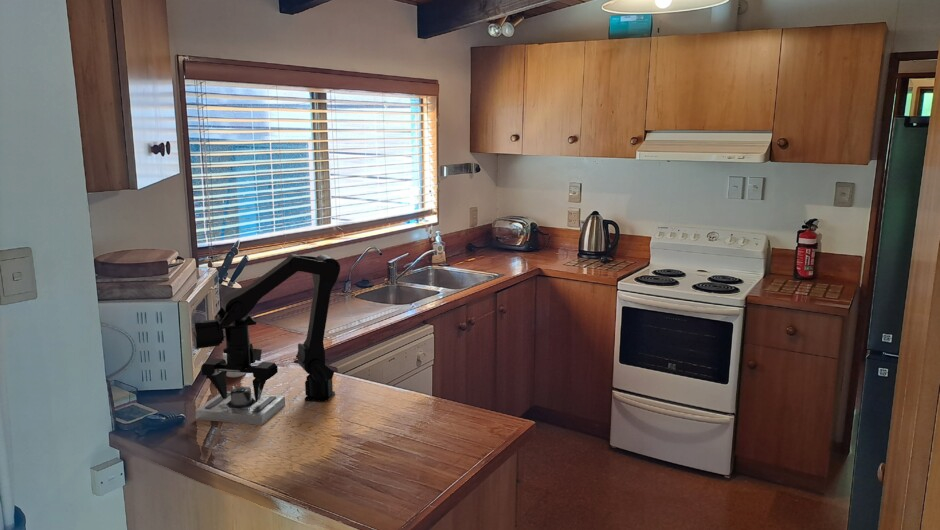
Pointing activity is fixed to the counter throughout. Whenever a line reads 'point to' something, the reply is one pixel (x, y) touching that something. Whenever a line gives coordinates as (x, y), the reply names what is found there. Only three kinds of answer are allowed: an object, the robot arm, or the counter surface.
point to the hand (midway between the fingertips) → (241, 400)
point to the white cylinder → (232, 374)
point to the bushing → (241, 397)
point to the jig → (249, 415)
